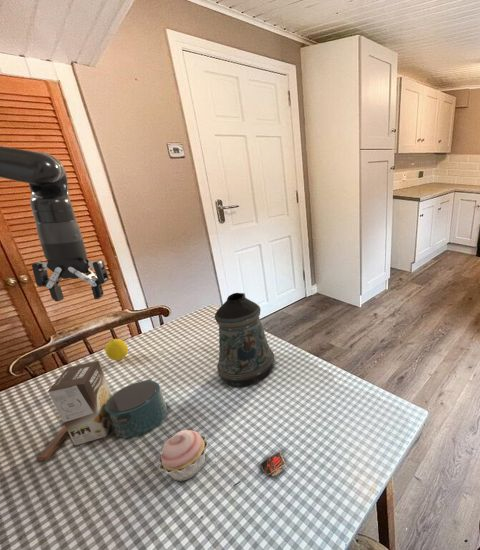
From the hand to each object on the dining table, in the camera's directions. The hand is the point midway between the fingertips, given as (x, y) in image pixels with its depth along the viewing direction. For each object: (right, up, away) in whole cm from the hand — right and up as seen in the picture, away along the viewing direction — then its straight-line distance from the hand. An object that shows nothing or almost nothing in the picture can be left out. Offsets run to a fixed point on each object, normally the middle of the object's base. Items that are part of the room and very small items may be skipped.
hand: (79, 299), depth 80 cm
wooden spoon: (+2, -32, -6) cm, 33 cm away
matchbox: (+56, -35, -14) cm, 67 cm away
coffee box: (+9, -32, -4) cm, 33 cm away
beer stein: (+38, -23, +16) cm, 47 cm away
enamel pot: (+18, -31, -2) cm, 36 cm away
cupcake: (+37, -36, -14) cm, 53 cm away
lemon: (-5, -22, +20) cm, 30 cm away
